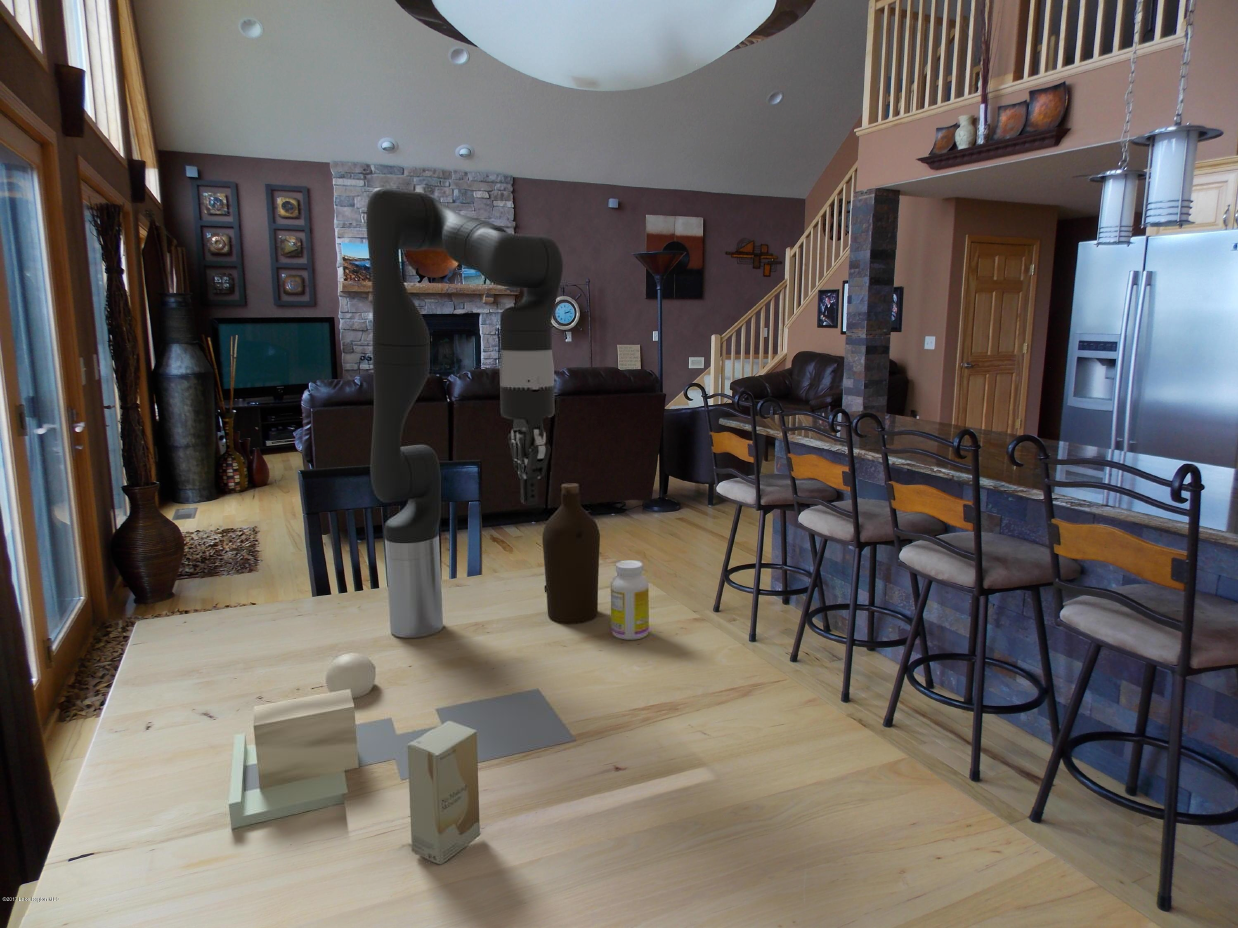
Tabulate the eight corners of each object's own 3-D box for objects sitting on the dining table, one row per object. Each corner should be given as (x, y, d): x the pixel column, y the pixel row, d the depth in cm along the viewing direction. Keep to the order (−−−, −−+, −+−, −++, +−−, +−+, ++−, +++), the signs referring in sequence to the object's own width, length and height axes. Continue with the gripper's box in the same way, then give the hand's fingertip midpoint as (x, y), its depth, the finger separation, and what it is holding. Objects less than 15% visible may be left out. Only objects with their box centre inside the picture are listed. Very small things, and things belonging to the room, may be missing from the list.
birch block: (259, 767, 96) (253, 706, 95) (354, 747, 101) (350, 688, 99) (259, 789, 92) (253, 725, 90) (358, 767, 96) (354, 706, 95)
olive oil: (612, 612, 150) (611, 483, 146) (574, 629, 142) (572, 493, 137) (570, 600, 156) (568, 476, 152) (532, 616, 148) (528, 485, 144)
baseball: (387, 689, 119) (385, 647, 118) (358, 711, 113) (354, 667, 111) (349, 683, 121) (346, 642, 120) (318, 705, 115) (314, 661, 113)
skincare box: (440, 867, 80) (434, 756, 78) (410, 852, 83) (403, 744, 80) (483, 832, 86) (478, 728, 83) (453, 819, 88) (448, 717, 86)
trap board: (236, 756, 101) (234, 734, 101) (538, 696, 117) (537, 676, 116) (231, 828, 87) (228, 803, 86) (576, 748, 102) (575, 727, 102)
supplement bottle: (650, 627, 143) (650, 558, 140) (647, 641, 136) (647, 570, 134) (613, 626, 143) (612, 557, 141) (609, 640, 137) (608, 569, 135)
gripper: (488, 380, 115) (492, 496, 118) (514, 387, 103) (517, 517, 106) (538, 378, 118) (540, 492, 121) (568, 385, 106) (570, 511, 109)
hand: (529, 503), depth 114 cm, fingers closed
